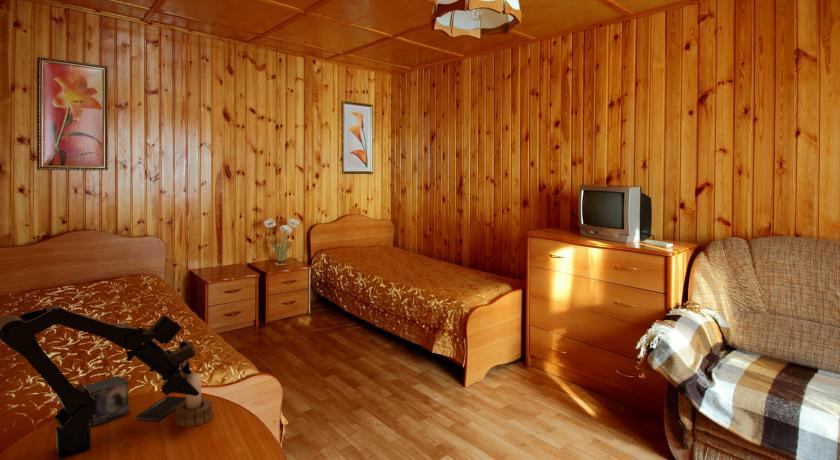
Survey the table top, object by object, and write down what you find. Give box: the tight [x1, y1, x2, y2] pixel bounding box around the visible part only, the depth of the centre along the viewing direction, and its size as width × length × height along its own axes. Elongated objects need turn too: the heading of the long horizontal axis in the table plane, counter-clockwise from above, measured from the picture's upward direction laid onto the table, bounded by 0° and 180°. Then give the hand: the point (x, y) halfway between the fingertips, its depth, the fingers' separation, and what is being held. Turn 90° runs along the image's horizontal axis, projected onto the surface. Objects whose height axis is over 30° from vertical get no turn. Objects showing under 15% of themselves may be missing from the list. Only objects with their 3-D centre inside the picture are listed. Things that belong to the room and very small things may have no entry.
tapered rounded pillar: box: [185, 372, 202, 410], centre depth 143 cm, size 4×4×13 cm
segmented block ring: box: [174, 397, 213, 428], centre depth 143 cm, size 10×10×4 cm
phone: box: [135, 395, 186, 423], centre depth 148 cm, size 8×1×15 cm
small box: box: [83, 375, 130, 428], centre depth 142 cm, size 11×6×10 cm, turn 148°
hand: (198, 389), depth 143 cm, fingers open, 6 cm apart
